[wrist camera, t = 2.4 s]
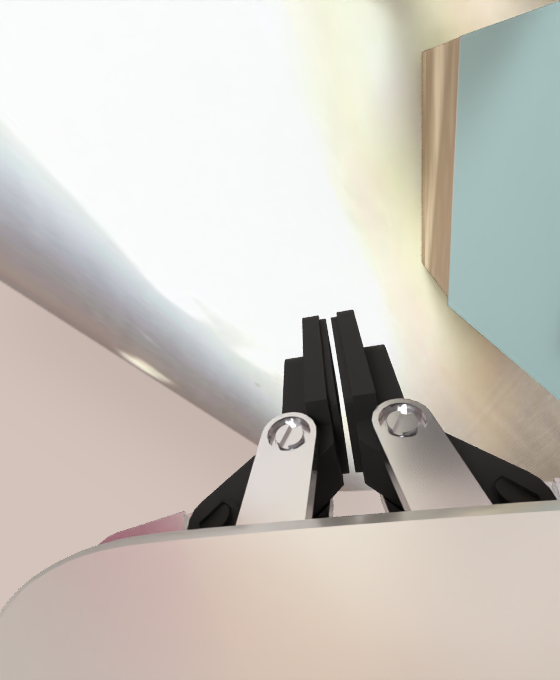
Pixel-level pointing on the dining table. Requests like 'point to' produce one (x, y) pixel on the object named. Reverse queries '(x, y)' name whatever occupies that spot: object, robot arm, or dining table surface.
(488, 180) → the lid
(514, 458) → the dining table surface
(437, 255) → the chest
